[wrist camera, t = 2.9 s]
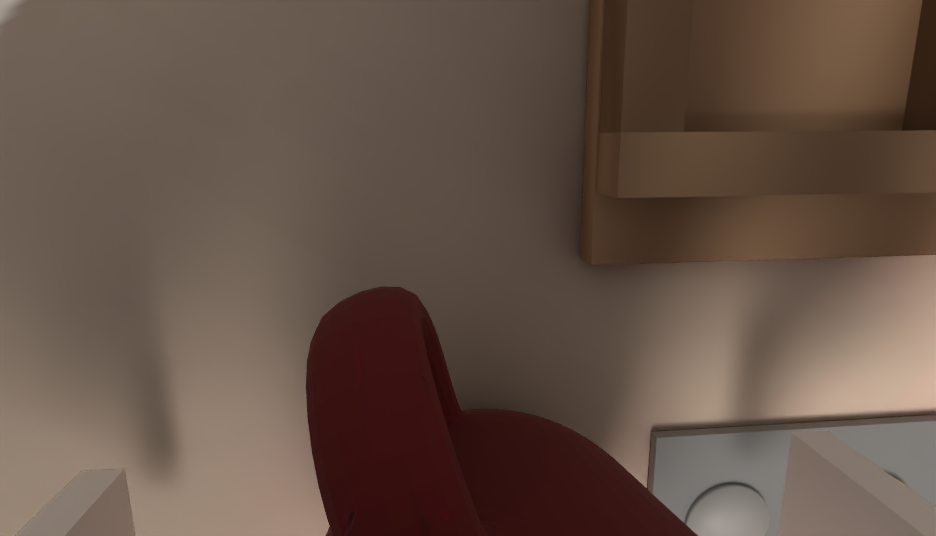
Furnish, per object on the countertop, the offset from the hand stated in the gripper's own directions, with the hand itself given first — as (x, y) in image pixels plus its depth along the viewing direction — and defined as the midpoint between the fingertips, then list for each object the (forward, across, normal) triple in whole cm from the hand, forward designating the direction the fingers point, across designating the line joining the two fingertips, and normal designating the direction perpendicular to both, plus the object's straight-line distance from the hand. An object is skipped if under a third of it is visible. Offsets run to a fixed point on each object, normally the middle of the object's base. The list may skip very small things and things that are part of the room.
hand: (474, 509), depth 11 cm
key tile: (+3, +9, -2) cm, 9 cm away
